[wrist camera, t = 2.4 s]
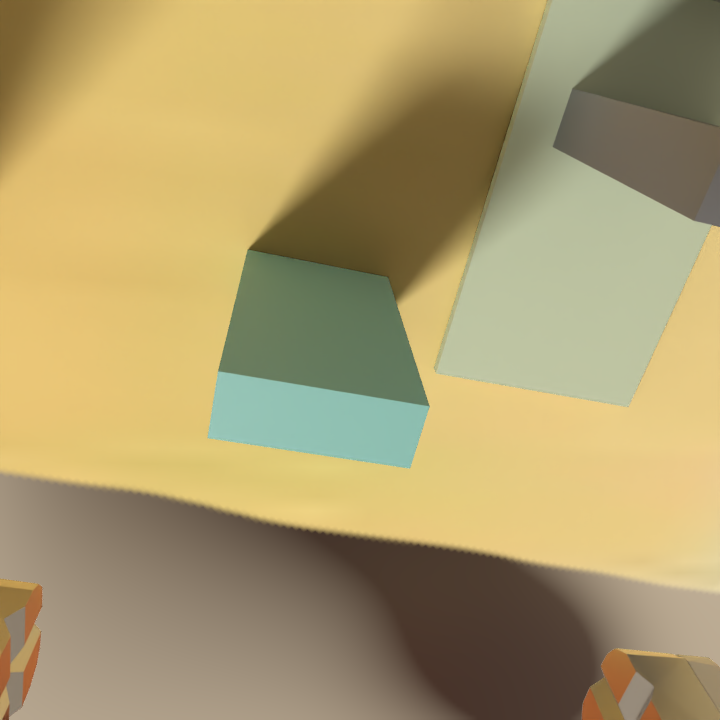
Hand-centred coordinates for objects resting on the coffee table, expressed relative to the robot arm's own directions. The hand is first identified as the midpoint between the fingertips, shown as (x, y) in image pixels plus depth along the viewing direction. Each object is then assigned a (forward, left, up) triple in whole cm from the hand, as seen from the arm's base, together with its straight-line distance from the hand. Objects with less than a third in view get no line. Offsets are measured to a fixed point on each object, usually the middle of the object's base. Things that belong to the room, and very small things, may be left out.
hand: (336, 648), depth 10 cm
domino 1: (0, 0, -13) cm, 13 cm away
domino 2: (-7, +8, -13) cm, 17 cm away
